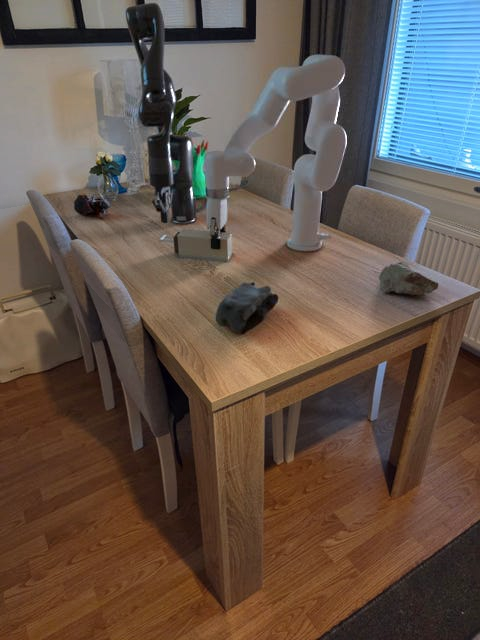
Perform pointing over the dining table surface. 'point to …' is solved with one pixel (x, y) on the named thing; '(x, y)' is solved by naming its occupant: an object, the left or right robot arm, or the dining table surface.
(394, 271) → the artifact
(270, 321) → the dining table surface
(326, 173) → the right robot arm
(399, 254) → the dining table surface
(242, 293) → the rock
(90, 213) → the toy
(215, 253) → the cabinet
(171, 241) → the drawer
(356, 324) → the dining table surface
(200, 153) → the toy
